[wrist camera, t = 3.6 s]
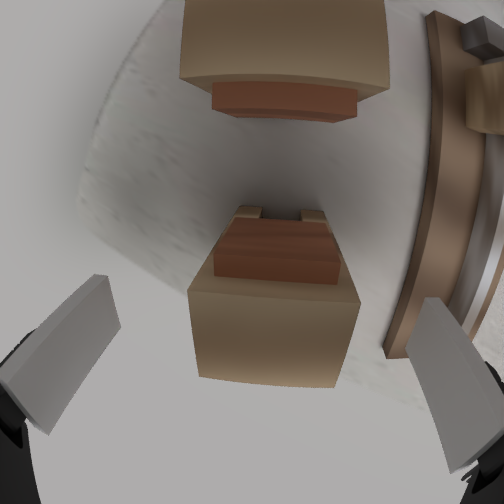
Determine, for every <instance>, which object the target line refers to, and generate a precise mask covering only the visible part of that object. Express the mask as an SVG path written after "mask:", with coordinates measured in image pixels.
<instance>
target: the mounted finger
mask: <svg viewBox="0 0 504 504" xmlns="http://www.w3.org/2000/svg"><path fill="white" fill-rule="evenodd" d="M464 72H465V90H466V127H467V128H470V129H473V130H475V131H478V132H480V133H489V134H497V135H504V61H501V62H496V63H491V64H487V65H482V66H478V67H473V68H469V69H465V70H464Z"/></svg>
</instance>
